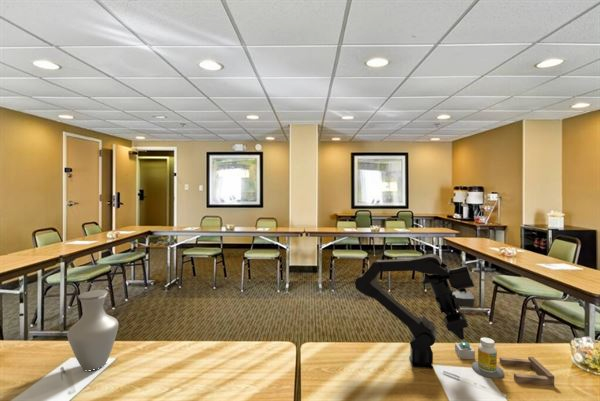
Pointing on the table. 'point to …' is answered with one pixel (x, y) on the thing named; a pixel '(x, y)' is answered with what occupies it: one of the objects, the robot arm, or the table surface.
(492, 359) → the supplement bottle
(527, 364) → the housing rails
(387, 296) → the robot arm
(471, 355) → the plunger block
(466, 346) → the plunger
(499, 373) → the rubber pad
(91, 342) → the vase
